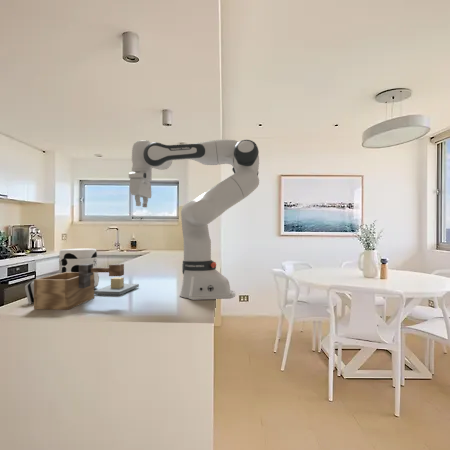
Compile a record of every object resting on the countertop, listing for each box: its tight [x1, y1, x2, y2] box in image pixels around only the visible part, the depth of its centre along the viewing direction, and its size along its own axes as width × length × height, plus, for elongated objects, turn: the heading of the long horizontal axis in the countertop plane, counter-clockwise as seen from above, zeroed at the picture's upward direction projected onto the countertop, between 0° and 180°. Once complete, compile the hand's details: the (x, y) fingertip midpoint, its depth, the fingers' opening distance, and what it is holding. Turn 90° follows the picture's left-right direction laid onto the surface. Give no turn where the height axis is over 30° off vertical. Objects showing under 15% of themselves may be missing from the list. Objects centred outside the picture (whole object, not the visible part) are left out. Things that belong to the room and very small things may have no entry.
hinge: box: [24, 275, 48, 305], centre depth 137 cm, size 17×5×10 cm, turn 175°
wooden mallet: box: [91, 263, 125, 277], centre depth 129 cm, size 11×4×4 cm, turn 86°
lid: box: [94, 276, 140, 297], centre depth 153 cm, size 11×19×6 cm, turn 171°
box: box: [33, 264, 95, 311], centre depth 130 cm, size 15×20×14 cm
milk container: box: [57, 247, 100, 289], centre depth 157 cm, size 17×17×18 cm
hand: (141, 206), depth 161 cm, fingers open, 8 cm apart
